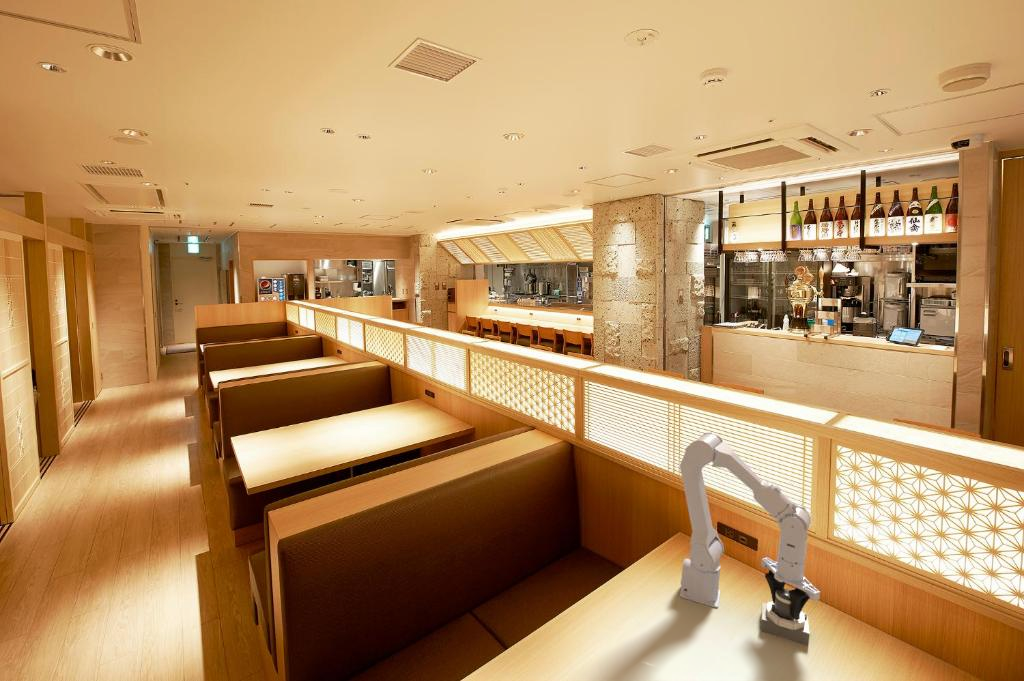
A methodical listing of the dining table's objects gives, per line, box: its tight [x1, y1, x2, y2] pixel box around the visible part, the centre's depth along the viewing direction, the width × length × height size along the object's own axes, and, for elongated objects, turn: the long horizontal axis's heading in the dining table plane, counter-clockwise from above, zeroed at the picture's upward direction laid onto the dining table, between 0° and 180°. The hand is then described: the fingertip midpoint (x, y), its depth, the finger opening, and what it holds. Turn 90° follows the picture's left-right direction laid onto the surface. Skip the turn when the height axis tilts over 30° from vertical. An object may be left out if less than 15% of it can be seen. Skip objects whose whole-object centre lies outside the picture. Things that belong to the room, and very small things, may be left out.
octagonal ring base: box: [760, 600, 810, 646], centre depth 121 cm, size 10×8×4 cm
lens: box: [774, 588, 794, 621], centre depth 120 cm, size 5×5×6 cm
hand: (785, 609), depth 120 cm, fingers closed on lens, 4 cm apart
